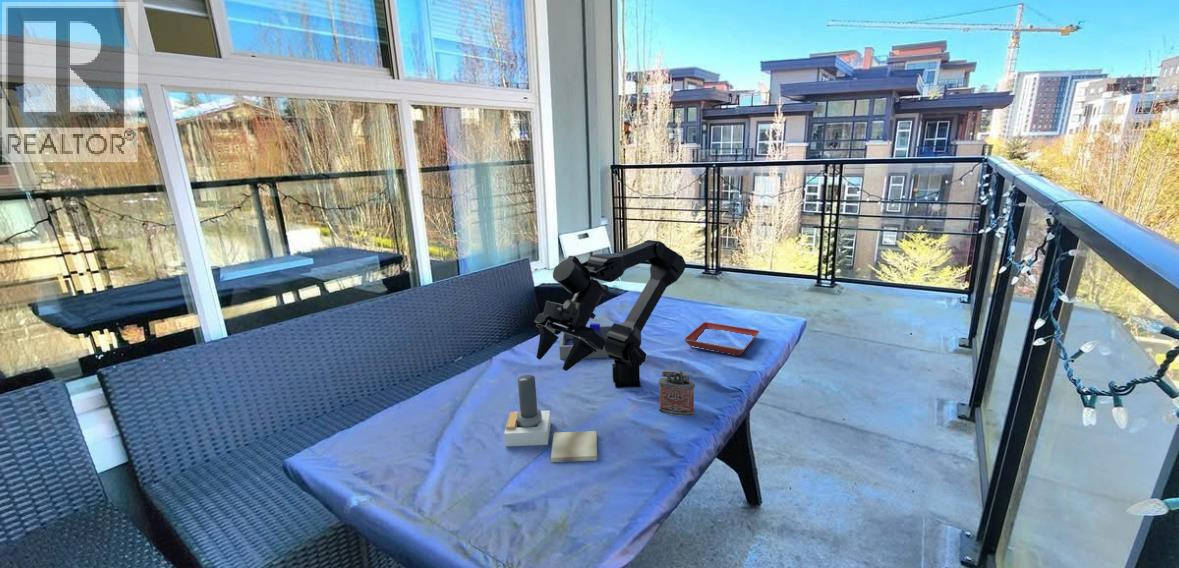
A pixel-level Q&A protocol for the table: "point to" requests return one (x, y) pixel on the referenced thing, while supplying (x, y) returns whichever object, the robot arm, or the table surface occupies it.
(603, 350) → the storage tray
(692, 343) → the plant saucer
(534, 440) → the socket block
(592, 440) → the birch board
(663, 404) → the lighter
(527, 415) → the plug
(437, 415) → the table surface
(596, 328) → the blue stepped block
